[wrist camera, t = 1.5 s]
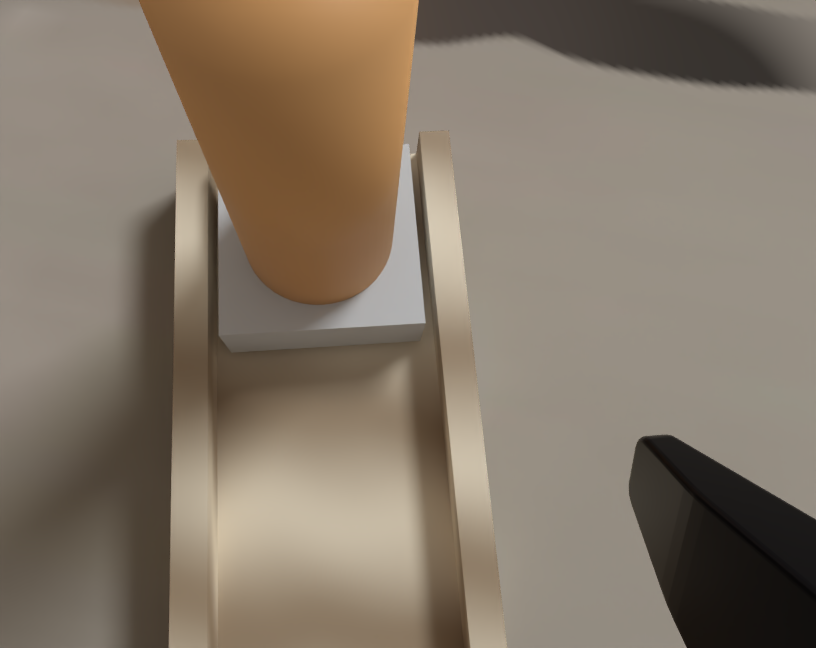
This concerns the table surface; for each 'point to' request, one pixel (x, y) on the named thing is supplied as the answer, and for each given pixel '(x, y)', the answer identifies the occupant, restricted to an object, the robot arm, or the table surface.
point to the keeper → (303, 164)
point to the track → (329, 461)
